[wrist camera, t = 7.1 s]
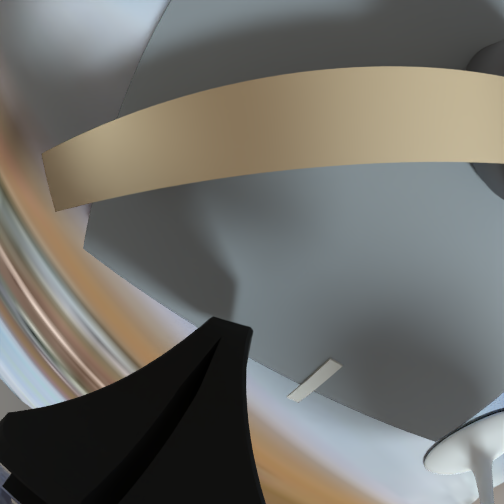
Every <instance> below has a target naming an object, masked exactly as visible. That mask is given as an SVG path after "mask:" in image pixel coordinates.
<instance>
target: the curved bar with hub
mask: <svg viewBox="0 0 504 504" xmlns="http://www.w3.org/2000/svg"><path fill="white" fill-rule="evenodd" d="M42 159H43V164H44V168H45V173H46V177H47V181H48V185H49V189H50V193H51V197H52V201H53V205H54V208H55V212H57V211H61V210H64V209H68V208H72V207H76V206H80V205H85V204H89V203H93V202H97V201H102V200H106V199H111V198H115V197H120V196H125V195H129V194H134V193H139V192H144V191H149V190H155V189H160V188H165V187H171V186H177V185H182V184H188V183H194V182H201V181H207V180H213V179H220V178H227V177H234V176H242V175H249V174H257V173H266V172H274V171H283V170H293V169H303V168H314V167H326V166H340V165H355V164H373V163H399V162H472V163H473V165H474V167H475V169H476V171H477V173H478V174H479V176H480V177H481V178H482V180H483V181H484V183H485V184H486V185H487V186H488V187H489V189H491V190H492V191H493V192H494V193H495V194H496V195H497V196H499V197H500V198H502V199H503V200H504V40H501V41H499V42H496V43H494V44H491V45H489V46H486V47H484V48H482V49H481V50H480V51H478V52H477V53H476V54H475V55H474V56H473V58H472V59H471V60H470V62H469V64H468V65H467V67H466V70H465V71H463V70H454V69H443V68H428V67H402V66H379V67H352V68H337V69H325V70H315V71H306V72H298V73H291V74H284V75H278V76H271V77H265V78H260V79H255V80H249V81H244V82H240V83H235V84H230V85H226V86H222V87H217V88H213V89H209V90H205V91H201V92H198V93H194V94H190V95H187V96H183V97H180V98H177V99H173V100H170V101H167V102H164V103H160V104H157V105H154V106H151V107H148V108H146V109H143V110H140V111H137V112H134V113H131V114H129V115H126V116H123V117H121V118H118V119H116V120H113V121H111V122H108V123H106V124H103V125H101V126H99V127H96V128H94V129H92V130H89V131H87V132H85V133H83V134H80V135H78V136H76V137H74V138H72V139H70V140H68V141H65V142H63V143H61V144H59V145H57V146H55V147H53V148H51V149H49V150H48V151H46V152H44V153H42Z"/></svg>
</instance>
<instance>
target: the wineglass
mask: <svg viewBox="0 0 504 504" xmlns="http://www.w3.org/2000/svg"><path fill="white" fill-rule="evenodd" d="M502 454H504V411H502V412H499V413H496V414H493V415H490V416H487V417H485V418H483V419H480V420H478V421H476V422H474V423H472V424H470V425H468V426H466V427H464V428H462V429H460V430H459V431H457V432H455V433H454V434H452V435H450V436H449V437H447V438H446V439H444V440H443V441H442V442H440V443H439V444H438V445H437V446H435V447H434V448H433V449H432V450H431V451H430V453H429V454H428V455H427V457H426V459H425V461H424V466H425V468H426V469H427V470H428V471H430V472H432V473H435V474H441V475H453V474H459V473H464V472H468V471H471V470H472V472H473V473H474V476H475V479H476V483H477V487H478V492H479V498H480V504H494V497H493V496H494V495H493V480H492V463H493V460H495V459H496V458H498V457H500V456H501V455H502Z"/></svg>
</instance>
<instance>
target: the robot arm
mask: <svg viewBox="0 0 504 504" xmlns="http://www.w3.org/2000/svg"><path fill="white" fill-rule="evenodd" d="M252 336H253V329H252V328H251V327H249V326H245V325H242V324H238V323H235V322H231V321H228V320H224V319H221V318H217V317H214V316H213V317H211V318H209V319H208V320H207V321H206V322H205V323H204V324H202V325H201V326H200V327H199V328H198V329H197V330H195V331H194V332H193V333H192V334H190V335H189V336H188V337H186V338H185V339H184V340H183V341H181V342H180V343H179V344H177V345H176V346H174V347H173V348H172V349H170V350H169V351H167V352H166V353H165V354H163V355H162V356H160V357H159V358H157V359H155V360H154V361H152V362H151V363H149V364H148V365H146V366H144V367H143V368H141V369H139V370H138V371H136V372H134V373H132V374H130V375H129V376H127V377H125V378H123V379H121V380H119V381H117V382H115V383H113V384H110V385H108V386H106V387H103V388H101V389H99V390H96V391H94V392H91V393H89V394H86V395H83V396H81V397H78V398H74V399H71V400H68V401H64V402H61V403H57V404H54V405H50V406H46V407H41V408H35V409H30V410H24V411H17V412H9V413H8V414H7V415H6V416H5V417H4V418H3V419H2V420H1V421H0V463H2V465H3V466H5V467H6V468H7V469H8V470H9V471H10V472H11V475H10V474H9V473H8V472H7V471H6V470H5V469H4V468H3V467H2V466H1V465H0V504H14V503H12V501H11V498H12V499H13V500H14V501H15V502H17V503H18V504H266V503H265V500H264V496H263V493H262V489H261V486H260V481H259V477H258V473H257V469H256V464H255V460H254V455H253V450H252V444H251V438H250V430H249V423H248V412H247V397H246V366H247V361H248V356H249V351H250V346H251V341H252Z"/></svg>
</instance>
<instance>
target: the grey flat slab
mask: <svg viewBox="0 0 504 504" xmlns="http://www.w3.org/2000/svg"><path fill="white" fill-rule="evenodd" d="M501 40H504V0H171V2H170V3H169V5H168V7H167V9H166V10H165V12H164V14H163V16H162V18H161V20H160V21H159V23H158V25H157V27H156V29H155V31H154V33H153V35H152V37H151V39H150V41H149V43H148V45H147V47H146V49H145V51H144V53H143V55H142V58H141V60H140V62H139V64H138V66H137V69H136V71H135V73H134V76H133V78H132V80H131V83H130V85H129V88H128V90H127V93H126V95H125V98H124V100H123V103H122V106H121V108H120V111H119V114H118V117H117V119H118V118H121V117H123V116H126V115H129V114H131V113H134V112H137V111H140V110H143V109H146V108H148V107H151V106H154V105H157V104H160V103H164V102H167V101H170V100H173V99H177V98H180V97H183V96H187V95H190V94H194V93H198V92H201V91H205V90H209V89H213V88H217V87H222V86H226V85H230V84H235V83H240V82H244V81H249V80H255V79H260V78H265V77H271V76H278V75H284V74H291V73H298V72H306V71H315V70H325V69H337V68H352V67H379V66H402V67H428V68H443V69H454V70H463V71H465V70H466V67H467V65H468V64H469V62H470V60H471V59H472V58H473V56H474V55H475V54H476V53H477V52H478V51H480V50H481V49H482V48H484V47H486V46H489V45H491V44H494V43H496V42H499V41H501ZM83 249H85V250H86V251H87V252H88V253H90V254H91V255H92V256H94V257H95V258H96V259H98V260H99V261H100V262H102V263H103V264H104V265H106V266H107V267H109V268H110V269H111V270H113V271H114V272H115V273H117V274H118V275H120V276H121V277H122V278H124V279H125V280H127V281H128V282H129V283H131V284H132V285H134V286H135V287H137V288H138V289H140V290H141V291H142V292H144V293H145V294H147V295H148V296H150V297H151V298H153V299H154V300H156V301H157V302H159V303H160V304H162V305H163V306H165V307H166V308H168V309H169V310H171V311H172V312H174V313H176V314H177V315H179V316H180V317H182V318H183V319H185V320H187V321H188V322H190V323H191V324H193V325H195V326H196V327H198V328H199V327H200V326H201V325H202V324H204V323H205V322H206V321H207V320H208V319H209V318H211V317H213V316H214V317H217V318H221V319H224V320H228V321H231V322H235V323H238V324H242V325H245V326H249V327H251V328H252V329H253V336H252V341H251V346H250V351H249V356H248V357H249V358H251V359H253V360H255V361H256V362H258V363H260V364H262V365H264V366H266V367H267V368H269V369H271V370H273V371H275V372H277V373H279V374H281V375H283V376H285V377H286V378H288V379H290V380H292V381H294V382H296V383H298V384H300V385H299V386H298V387H297V388H296V389H295V390H294V391H292V392H291V393H290V394H289V395H288V396H287V398H289V399H292V400H294V401H296V402H298V403H299V402H300V401H301V400H303V399H304V398H305V397H307V396H308V395H309V394H310V393H312V392H313V391H315V392H317V393H319V394H321V395H323V396H325V397H327V398H329V399H331V400H334V401H336V402H338V403H340V404H342V405H344V406H347V407H349V408H351V409H353V410H356V411H358V412H360V413H363V414H365V415H367V416H370V417H372V418H374V419H377V420H379V421H382V422H384V423H387V424H389V425H392V426H394V427H397V428H399V429H402V430H405V431H407V432H410V433H413V434H415V435H418V436H421V437H424V438H426V439H429V440H432V441H435V442H436V441H438V440H439V439H441V438H442V437H444V436H446V435H447V434H449V433H450V432H452V431H453V430H455V429H456V428H458V427H459V426H461V425H462V424H463V423H465V422H466V421H468V420H469V419H470V418H472V417H473V416H475V415H476V414H477V413H479V412H480V411H481V410H482V409H484V408H485V407H486V406H488V405H489V404H490V403H491V402H493V401H494V400H495V399H496V398H497V397H499V396H500V395H501V394H502V393H503V392H504V200H503V199H502V198H500V197H499V196H497V195H496V194H495V193H494V192H493V191H492V190H491V189H489V187H488V186H487V185H486V184H485V183H484V181H483V180H482V178H481V177H480V176H479V174H478V173H477V171H476V169H475V167H474V165H473V163H472V162H399V163H373V164H355V165H340V166H326V167H314V168H303V169H293V170H283V171H274V172H266V173H257V174H249V175H242V176H234V177H227V178H220V179H213V180H207V181H201V182H194V183H188V184H182V185H177V186H171V187H165V188H160V189H155V190H149V191H144V192H139V193H134V194H129V195H125V196H120V197H115V198H111V199H106V200H102V201H97V202H93V203H92V206H91V211H90V215H89V220H88V225H87V230H86V235H85V241H84V247H83Z"/></svg>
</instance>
